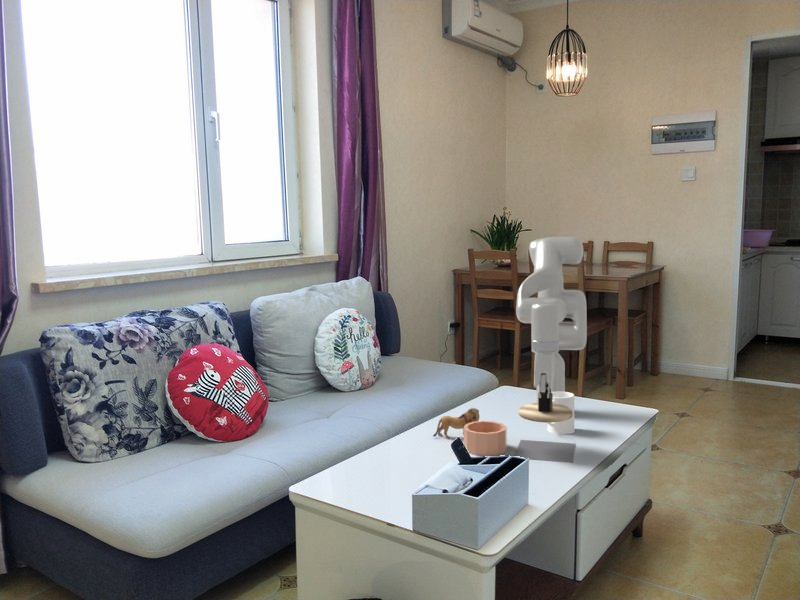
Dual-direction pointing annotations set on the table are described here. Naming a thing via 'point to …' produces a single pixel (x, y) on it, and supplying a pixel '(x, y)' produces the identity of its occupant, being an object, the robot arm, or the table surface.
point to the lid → (555, 414)
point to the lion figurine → (457, 421)
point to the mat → (546, 451)
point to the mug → (566, 425)
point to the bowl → (485, 438)
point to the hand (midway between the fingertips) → (545, 408)
